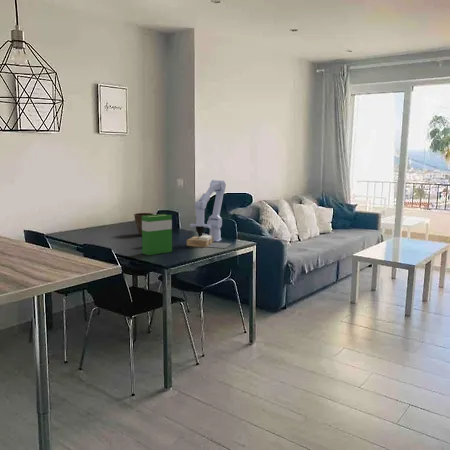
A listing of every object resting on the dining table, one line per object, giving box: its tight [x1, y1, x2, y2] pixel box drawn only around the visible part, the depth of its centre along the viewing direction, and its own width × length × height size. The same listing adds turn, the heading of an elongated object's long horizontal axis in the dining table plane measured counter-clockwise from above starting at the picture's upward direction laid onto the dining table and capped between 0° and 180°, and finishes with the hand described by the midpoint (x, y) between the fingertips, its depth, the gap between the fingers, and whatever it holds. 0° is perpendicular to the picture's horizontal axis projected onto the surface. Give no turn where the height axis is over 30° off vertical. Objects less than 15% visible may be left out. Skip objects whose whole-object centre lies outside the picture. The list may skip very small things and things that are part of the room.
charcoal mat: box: [206, 242, 232, 250], centre depth 328 cm, size 16×13×1 cm
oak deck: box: [186, 235, 214, 248], centre depth 332 cm, size 16×14×4 cm
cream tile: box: [199, 234, 212, 241], centre depth 330 cm, size 9×6×2 cm, turn 163°
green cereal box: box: [141, 213, 173, 256], centre depth 303 cm, size 18×7×24 cm, turn 130°
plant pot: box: [133, 212, 155, 236], centre depth 367 cm, size 15×15×16 cm
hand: (200, 237), depth 331 cm, fingers closed
